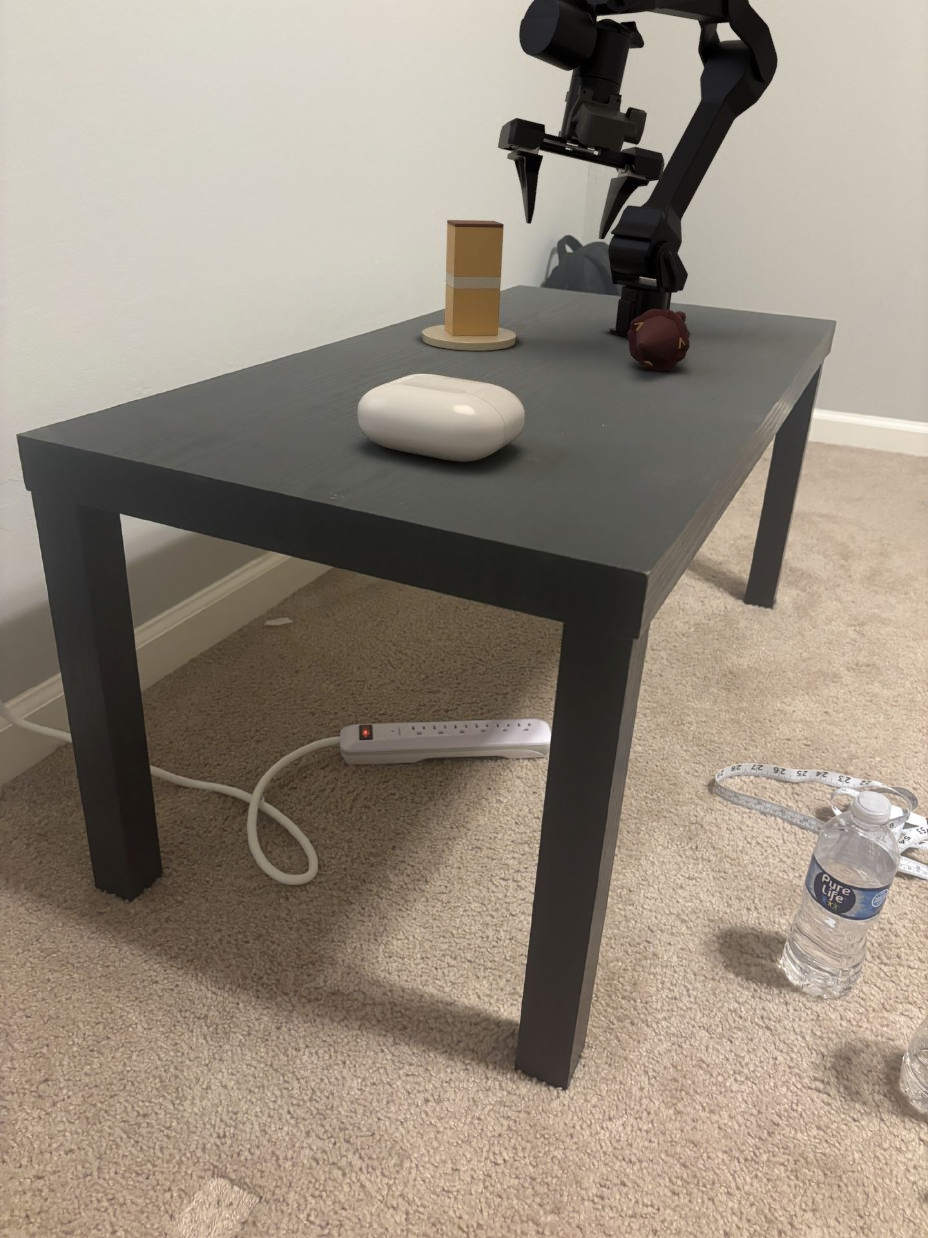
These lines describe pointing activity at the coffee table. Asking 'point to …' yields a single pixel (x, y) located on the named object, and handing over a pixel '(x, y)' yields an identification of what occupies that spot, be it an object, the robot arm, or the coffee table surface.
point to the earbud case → (441, 417)
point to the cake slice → (473, 277)
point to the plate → (468, 339)
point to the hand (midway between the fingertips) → (565, 231)
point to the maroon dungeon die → (659, 339)
